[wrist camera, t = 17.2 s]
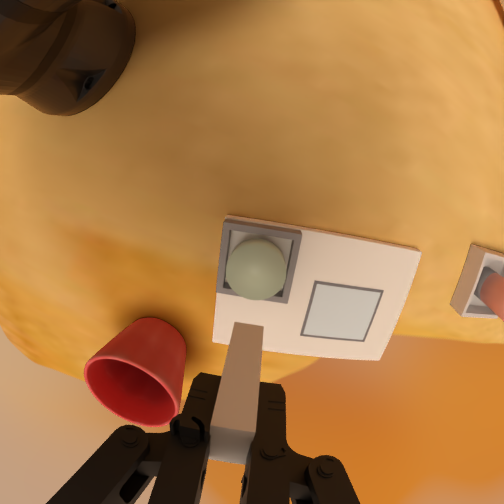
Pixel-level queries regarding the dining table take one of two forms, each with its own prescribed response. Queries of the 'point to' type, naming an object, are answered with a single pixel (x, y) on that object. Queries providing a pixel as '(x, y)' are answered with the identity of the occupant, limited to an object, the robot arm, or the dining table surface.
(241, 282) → the button
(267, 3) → the dining table surface
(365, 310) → the board
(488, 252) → the tray
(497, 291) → the tumbler
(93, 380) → the flower pot
